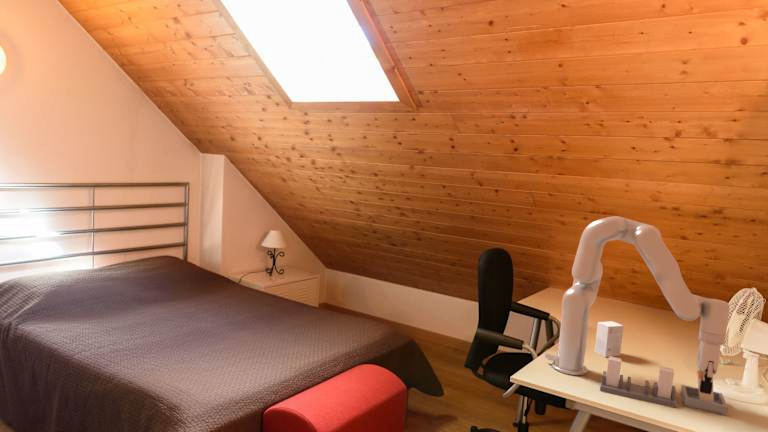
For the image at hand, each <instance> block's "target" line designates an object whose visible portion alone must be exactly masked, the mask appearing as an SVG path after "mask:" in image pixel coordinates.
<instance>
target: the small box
mask: <svg viewBox="0 0 768 432" xmlns="http://www.w3.org/2000/svg"><path fill="white" fill-rule="evenodd" d="M623 332H624V325H623V324H620V323H618V322H615V321H612V320H611V321H610V320H609V321H598V322H597V326H596V335H595V344H594V345H595V346H594V353H595V354H598V355H600V356H601V357H604V358H609V356H612V357H621V351H622V341H623Z"/></svg>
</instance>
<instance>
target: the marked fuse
mask: <svg viewBox="0 0 768 432" xmlns="http://www.w3.org/2000/svg"><path fill="white" fill-rule="evenodd" d="M706 372H708V371H706ZM696 373H697V377H696V378H697V388H698V397H699V400H703V401H708V402H714V395H713V392H714V380H713V381H712V382H713V384H712V391H711V394H707V393H702V392H700V385H701V380H702V378H703V371H702V372H700V371H699V369H698V370H697V371H696ZM706 375H707V374H705V376H706Z"/></svg>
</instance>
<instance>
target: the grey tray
mask: <svg viewBox="0 0 768 432" xmlns="http://www.w3.org/2000/svg"><path fill="white" fill-rule="evenodd" d="M713 395H714V402H708V401H703V400H699V397H698V387H693V386H689V385H685V384H681V387H680V396H681V401H682V404H683V405H682V406H683V407H686V408H690V409H695V410H698V411H702V412H707V413H712V414H717V415H721V416H724V415H726V416H727V412H728V405H727V402H726V400H725V398H724V395H723V393H722V392H717V391H713Z"/></svg>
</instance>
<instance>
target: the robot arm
mask: <svg viewBox="0 0 768 432" xmlns="http://www.w3.org/2000/svg"><path fill="white" fill-rule="evenodd" d="M616 240H618V241H621V242H625V243H628V244H631V245H634V246H635V249H636V251H637V252H638V253H639V254H640V256H641V258H642V259H643V261H644V262H645V264H646V266H647V268H648V269H649V270H650V273H651V274H652V276H653V277H654V280H655V282H656V283H657V285H658V286H659V289H660V290H661V292H662V294H663V296H664V298H665V299H666V301H667V302H668V304H669V306H670V307H671V309H672V310H673V312H674V314H676V316H677V317H679V318H680V319H681V320H684V321H687V322H691V321H695V320H696V319H697V320H698V318H699V317H700V322H699V323H700V324H699V331H698V337H697V338H698V340H699V341H700V343H699V347H698V353H697V360H696V366H697V369H698V371H700V372H702V371H703V378H702V380H701V385H700V392H702V393H707V394H711V391H712V384H713V385H714V379H713V378H714V375H716V374H717V373H718V367H719V360H720V353H721V346H725V344H726V337H727V336H726V335H727V332H728V331H727V330H728V323H729V315H730V310H731V309H730V308H731V307H730V303H728V302H727V301H724V300H721V299H717V298H709V297H708V298H707V297H705V296H700V295H696V294H694V293H692V292H691V290H690V289H689V287H688V286H687V284H686V283H685V280H684V278H683V276H682V273H681V270H680V266H679V264H678V262H677V260H676V259H675V257H674V256H673V255H672V252H671V251H670V250H669V249H668V246H667V245H666V244H665V242H664V240H663V239H662V234H661V231H660V230H659V229H658V227H656V226H654V225H652V224H647V223H643V222H639V221H636V220H633V219H629V218H626V217H622V216H619V215H618V216H617V215H613V216H607V217H604V218H599V219H597V220H594V221H592V222H590V223H589V224H588V225H587V226H586V227H585V228H584V230H583V232H582V233H581V236H580V239H579V243H578V247H577V250H576V253H575V257H574V260H573V265H572V268H571V275H572V278H573V281H572V286H571V287H569V288H568V289H567V290H566V291H565V292H564V293H563V296H562V299H561V321H560V330H559V339H558V348H557V352H556V353H553V354H552V353H548V352H545V355H544V358H545V359H547V360H548V361H552V364H551V367H552V368H553V369H554V370H556V371H558V372H560V373H562V374H566V375H572V376H583V375H587V373H588V368H587V367H586V366H585V364H584V363H585V355H586V349H587V348H586V346H587V340H588V339H587V338H588V330H589V319H590V317H589V316H590V313H589V312H590V307H592V306H593V304H594V303H595V301H596V299H597V296H598V292H599V287H600V284H601V281H602V277H603V274H604V273H603V272H604V268H603V263H602V262H601V259H602V256H603V252H604V247H605V245H606V243H607V242H609V241H610V242H611V241H616ZM706 371H708V372H706ZM705 374H707V375H706V376H705ZM712 381H713V382H712Z"/></svg>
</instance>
